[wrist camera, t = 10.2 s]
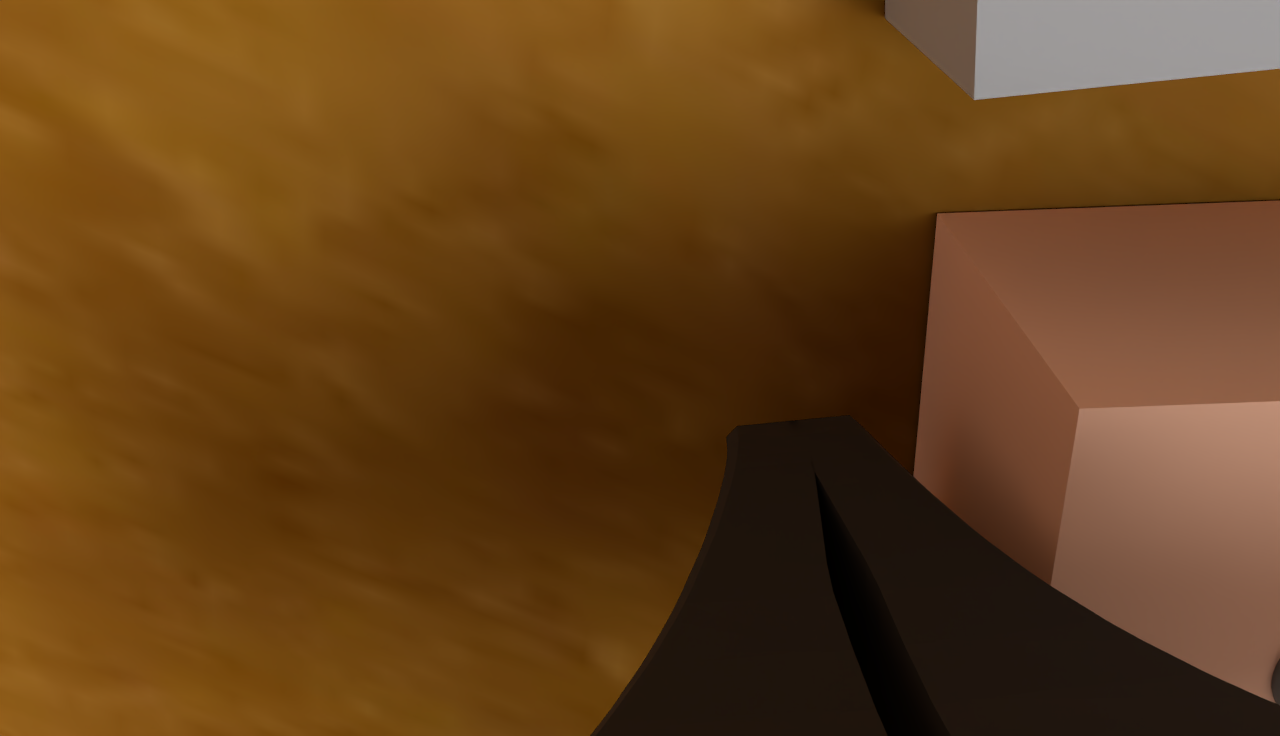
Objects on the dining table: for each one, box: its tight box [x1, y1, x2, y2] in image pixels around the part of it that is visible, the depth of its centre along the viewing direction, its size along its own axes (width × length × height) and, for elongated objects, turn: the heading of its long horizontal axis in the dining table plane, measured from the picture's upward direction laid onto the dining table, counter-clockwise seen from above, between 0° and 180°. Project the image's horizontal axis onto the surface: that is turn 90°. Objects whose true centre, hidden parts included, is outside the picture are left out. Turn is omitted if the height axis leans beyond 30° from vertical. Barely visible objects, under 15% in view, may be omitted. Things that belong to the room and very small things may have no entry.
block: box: [914, 200, 1280, 705], centre depth 11 cm, size 5×5×4 cm
